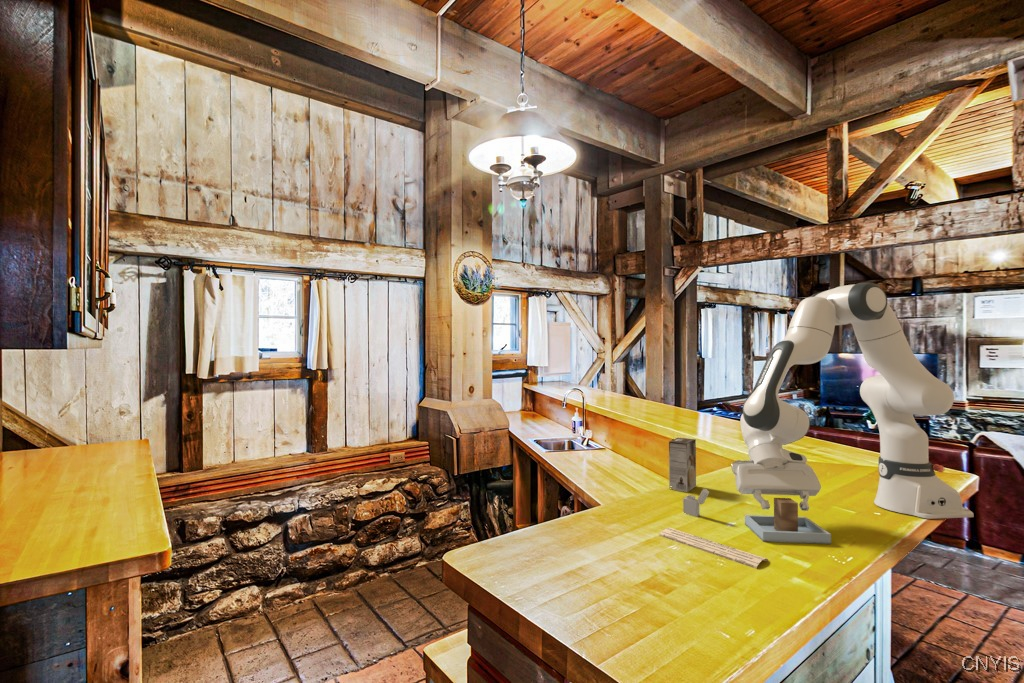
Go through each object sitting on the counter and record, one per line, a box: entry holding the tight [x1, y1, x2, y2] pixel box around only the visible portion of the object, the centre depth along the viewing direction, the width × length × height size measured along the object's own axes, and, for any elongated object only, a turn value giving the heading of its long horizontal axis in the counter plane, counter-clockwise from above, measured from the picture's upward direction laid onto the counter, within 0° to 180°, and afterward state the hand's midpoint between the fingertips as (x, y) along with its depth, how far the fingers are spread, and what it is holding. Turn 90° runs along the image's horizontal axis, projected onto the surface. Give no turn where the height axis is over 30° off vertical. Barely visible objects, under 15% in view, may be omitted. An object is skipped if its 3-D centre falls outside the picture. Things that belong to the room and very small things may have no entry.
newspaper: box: [658, 527, 769, 570], centre depth 114 cm, size 24×7×2 cm, turn 41°
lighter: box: [682, 488, 710, 518], centre depth 134 cm, size 7×2×8 cm, turn 41°
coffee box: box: [668, 437, 697, 493], centre depth 161 cm, size 9×6×16 cm
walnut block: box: [773, 497, 799, 532], centre depth 122 cm, size 4×4×8 cm
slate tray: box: [744, 514, 832, 545], centre depth 122 cm, size 16×12×2 cm
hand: (785, 509), depth 122 cm, fingers open, 8 cm apart
